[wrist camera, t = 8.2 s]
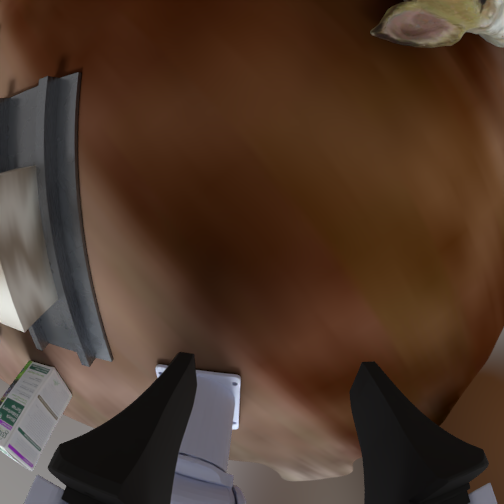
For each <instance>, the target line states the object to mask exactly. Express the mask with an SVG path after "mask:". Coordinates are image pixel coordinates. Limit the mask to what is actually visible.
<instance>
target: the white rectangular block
mask: <svg viewBox="0 0 504 504" xmlns="http://www.w3.org/2000/svg"><path fill="white" fill-rule="evenodd" d="M57 300H58V295H57V292H56V288H55V284H54V280H53V276H52V272H51V268H50V264H49V259H48V255H47V250H46V245H45V239H44V234H43V228H42V221H41V214H40V206H39V197H38V187H37V173H36V165H35V166H29V167H24V168H18V169H13V170H9V171H6V172H2V173H0V322H1V323H3V324H5V325H7V326H10V327H12V328H15V329H17V330H20V331H22V332H26V331H27V330H28V329H29V328H30V327H31V326H32V324H33V323H34V322H35V321H36V320H37V319H38V318H39V317H40V316H41V315H42V314H43V313H44V312H45V311H47V310H48V309H49V308H50V307H51V306H52V305H53V304H54V303H55V302H56V301H57Z"/></svg>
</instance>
